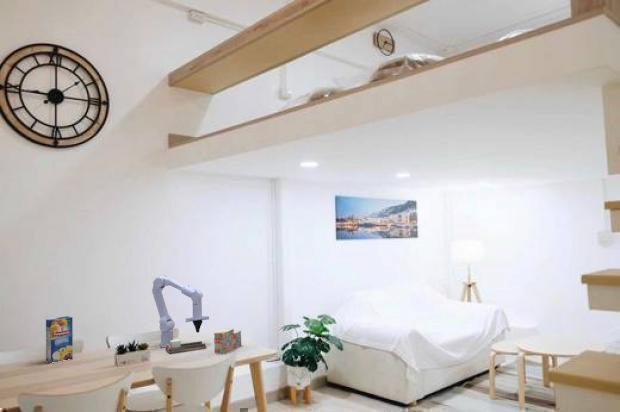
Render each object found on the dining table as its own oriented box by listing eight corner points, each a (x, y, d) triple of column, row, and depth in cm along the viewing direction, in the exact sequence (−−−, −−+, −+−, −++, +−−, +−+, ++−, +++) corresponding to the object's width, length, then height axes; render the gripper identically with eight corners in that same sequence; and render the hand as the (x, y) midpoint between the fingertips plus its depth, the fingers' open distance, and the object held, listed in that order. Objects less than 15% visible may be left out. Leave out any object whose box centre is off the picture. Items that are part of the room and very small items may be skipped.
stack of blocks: (232, 345, 306) (232, 325, 306) (241, 345, 304) (241, 325, 304) (214, 353, 286) (214, 332, 286) (223, 354, 284) (223, 332, 284)
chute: (165, 350, 297) (165, 343, 297) (200, 344, 308) (200, 338, 308) (170, 354, 286) (170, 347, 287) (206, 348, 297) (206, 342, 298)
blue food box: (67, 357, 286) (67, 316, 288) (72, 359, 281) (72, 317, 283) (45, 361, 278) (45, 319, 279) (50, 363, 273) (50, 320, 274)
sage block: (170, 348, 295) (169, 340, 295) (178, 347, 297) (178, 339, 298) (172, 350, 291) (172, 341, 291) (180, 349, 293) (180, 340, 293)
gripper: (187, 312, 300) (188, 334, 299) (210, 310, 307) (210, 331, 307) (184, 311, 306) (184, 332, 305) (206, 308, 313) (207, 329, 313)
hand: (197, 332), depth 306 cm, fingers closed
